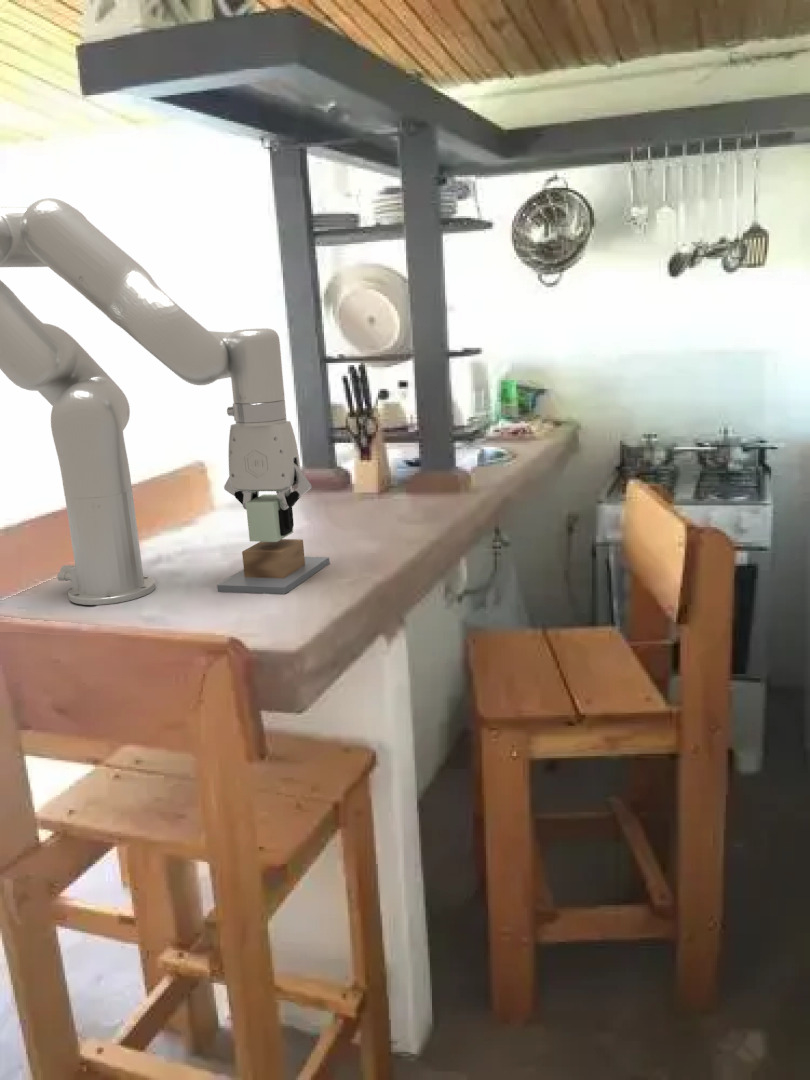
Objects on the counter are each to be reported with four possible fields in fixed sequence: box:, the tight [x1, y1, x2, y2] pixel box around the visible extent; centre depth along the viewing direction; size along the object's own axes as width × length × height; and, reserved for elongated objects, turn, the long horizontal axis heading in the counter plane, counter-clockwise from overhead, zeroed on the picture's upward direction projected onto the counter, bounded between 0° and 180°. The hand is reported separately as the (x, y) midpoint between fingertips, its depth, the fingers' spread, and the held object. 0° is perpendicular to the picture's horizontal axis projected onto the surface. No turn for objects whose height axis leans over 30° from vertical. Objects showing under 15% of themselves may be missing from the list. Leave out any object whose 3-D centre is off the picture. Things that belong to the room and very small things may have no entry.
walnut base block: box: [241, 538, 306, 578], centre depth 144 cm, size 6×8×4 cm
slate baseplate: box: [216, 556, 330, 595], centre depth 145 cm, size 11×17×1 cm, turn 162°
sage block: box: [245, 494, 294, 543], centre depth 143 cm, size 4×6×6 cm
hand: (271, 532), depth 143 cm, fingers closed on sage block, 4 cm apart
